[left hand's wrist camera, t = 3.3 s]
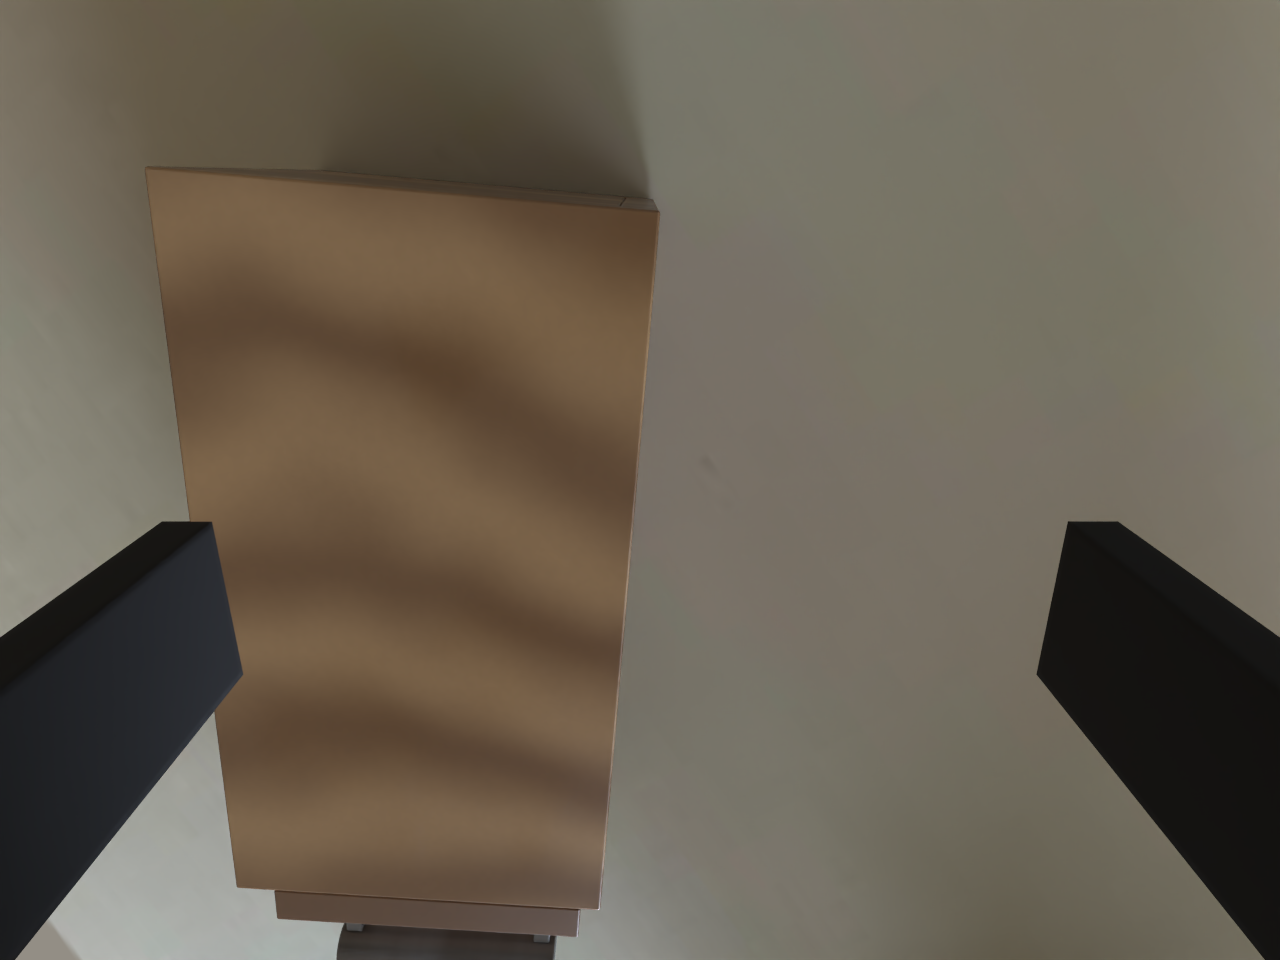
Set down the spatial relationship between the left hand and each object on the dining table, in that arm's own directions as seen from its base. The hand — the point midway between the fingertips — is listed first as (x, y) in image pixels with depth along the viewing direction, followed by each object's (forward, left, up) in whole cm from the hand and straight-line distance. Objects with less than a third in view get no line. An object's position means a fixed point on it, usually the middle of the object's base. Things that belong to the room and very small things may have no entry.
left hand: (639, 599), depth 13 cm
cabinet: (+1, -7, -16) cm, 18 cm away
